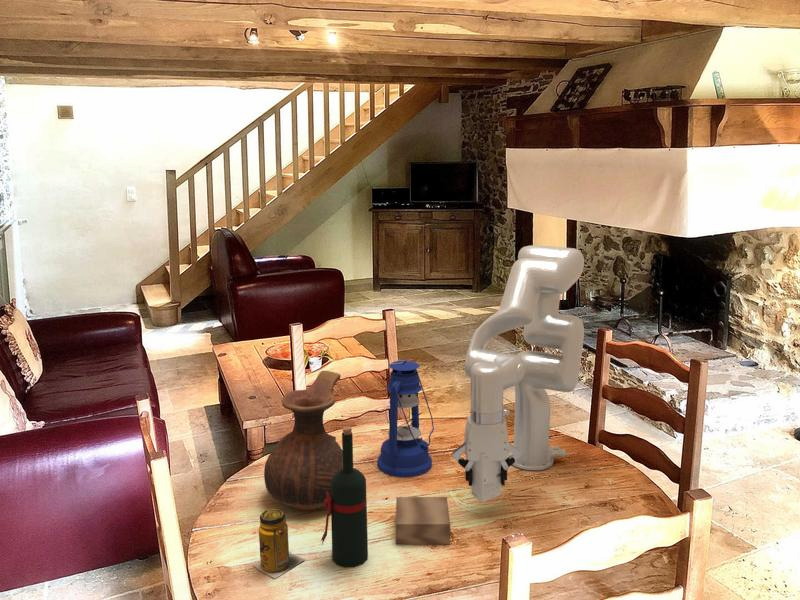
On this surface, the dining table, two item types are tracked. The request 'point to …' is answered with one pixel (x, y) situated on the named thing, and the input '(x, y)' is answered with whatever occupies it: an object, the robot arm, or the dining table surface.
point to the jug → (305, 449)
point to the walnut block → (422, 520)
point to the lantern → (403, 445)
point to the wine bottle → (347, 510)
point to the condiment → (275, 544)
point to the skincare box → (486, 478)
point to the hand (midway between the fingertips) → (486, 482)
